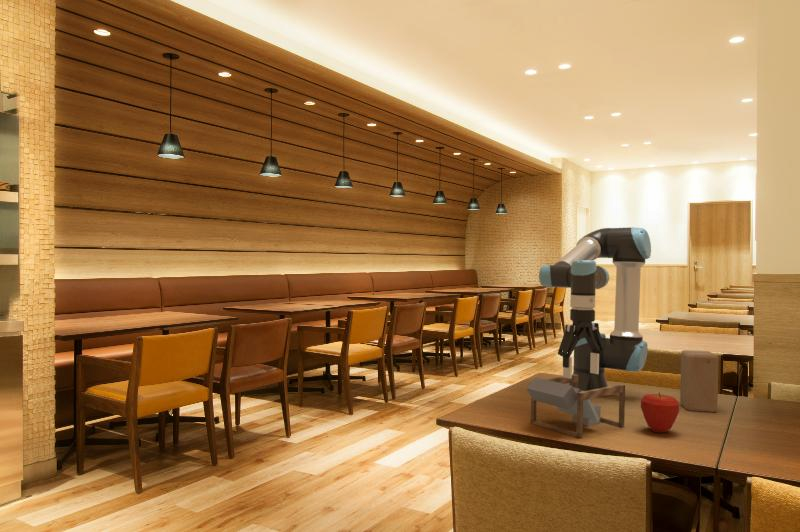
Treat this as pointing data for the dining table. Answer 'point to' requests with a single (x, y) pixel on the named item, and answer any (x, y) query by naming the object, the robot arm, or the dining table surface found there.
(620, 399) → the wooden rack
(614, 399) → the dining table surface
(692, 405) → the wooden block
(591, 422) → the stone
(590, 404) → the grey angular block
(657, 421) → the apple
